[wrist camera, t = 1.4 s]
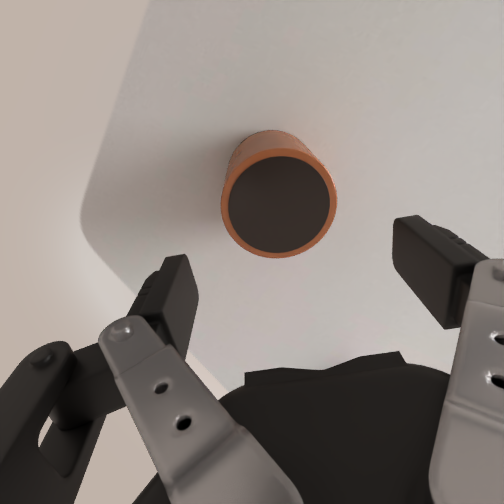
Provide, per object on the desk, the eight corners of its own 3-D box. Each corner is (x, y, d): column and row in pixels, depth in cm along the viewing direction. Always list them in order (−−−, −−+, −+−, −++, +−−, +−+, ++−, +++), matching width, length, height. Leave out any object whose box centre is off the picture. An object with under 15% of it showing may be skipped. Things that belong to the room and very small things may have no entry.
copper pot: (218, 139, 21) (207, 160, 15) (309, 121, 20) (334, 136, 15) (237, 223, 24) (234, 267, 18) (317, 208, 23) (340, 249, 18)
